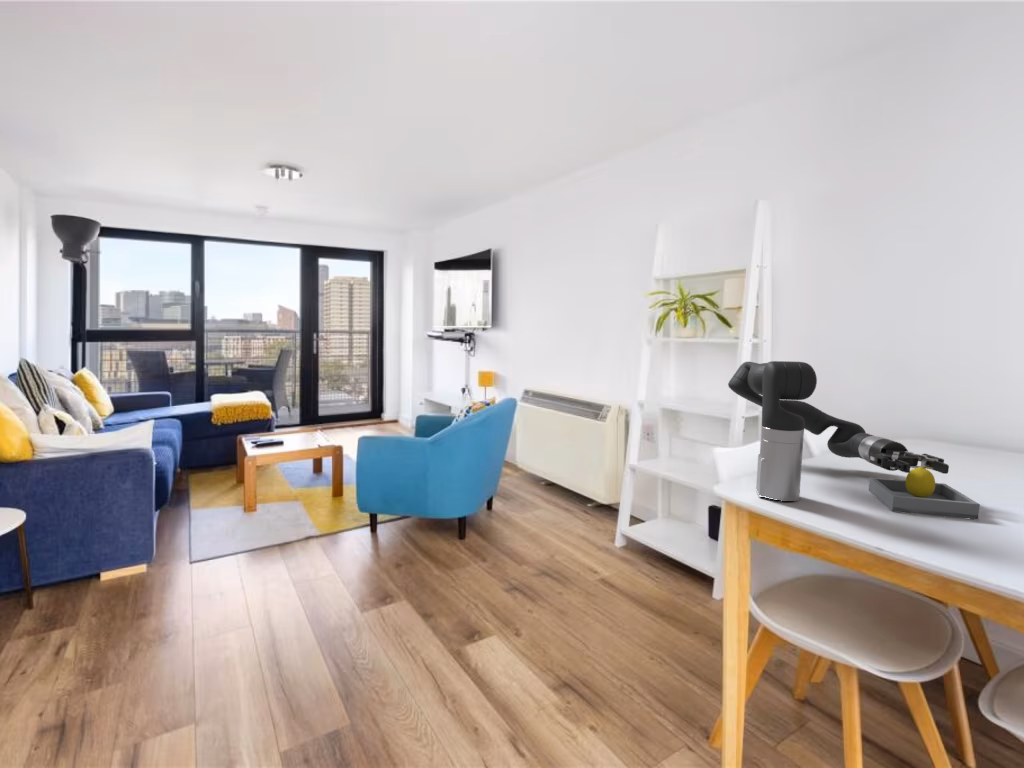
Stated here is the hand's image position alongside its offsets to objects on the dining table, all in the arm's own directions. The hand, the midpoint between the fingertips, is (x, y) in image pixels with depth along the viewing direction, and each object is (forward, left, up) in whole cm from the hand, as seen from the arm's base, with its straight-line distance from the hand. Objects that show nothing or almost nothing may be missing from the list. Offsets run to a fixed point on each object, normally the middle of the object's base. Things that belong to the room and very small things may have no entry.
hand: (927, 469), depth 122 cm
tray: (0, +2, -9) cm, 9 cm away
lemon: (-1, +2, -8) cm, 8 cm away
